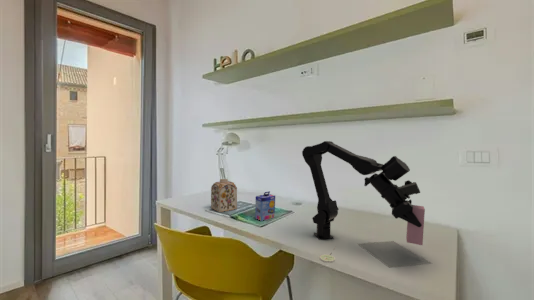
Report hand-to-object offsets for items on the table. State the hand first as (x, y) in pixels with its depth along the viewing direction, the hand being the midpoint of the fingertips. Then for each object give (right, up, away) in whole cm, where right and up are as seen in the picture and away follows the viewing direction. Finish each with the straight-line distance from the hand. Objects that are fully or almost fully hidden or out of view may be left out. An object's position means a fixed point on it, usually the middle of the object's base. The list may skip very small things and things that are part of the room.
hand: (420, 224), depth 85 cm
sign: (-29, -13, +6) cm, 32 cm away
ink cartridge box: (-53, -11, +47) cm, 71 cm away
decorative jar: (-78, -11, +66) cm, 102 cm away
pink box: (-1, -6, +1) cm, 6 cm away
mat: (-7, -12, +6) cm, 15 cm away
